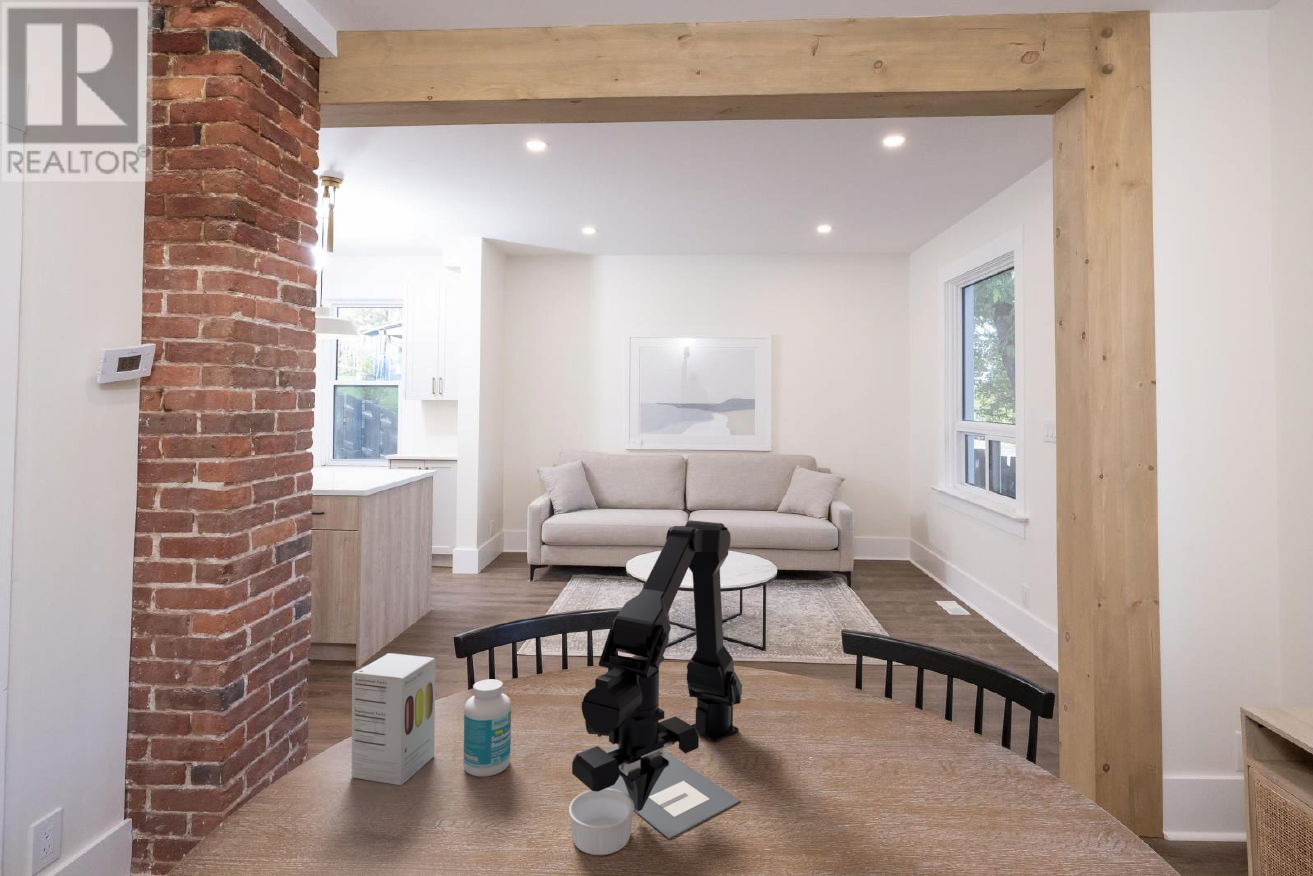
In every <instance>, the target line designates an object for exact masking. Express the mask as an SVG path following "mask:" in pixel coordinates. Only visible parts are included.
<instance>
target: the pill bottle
mask: <svg viewBox="0 0 1313 876" xmlns="http://www.w3.org/2000/svg"><path fill="white" fill-rule="evenodd" d="M503 691H504V683H503V682H502V681H501V680H499V679H493V678H492V679H490V678H489V679H487V678H486V679H481V680H479V681H477V682H475V683H474V684H473V685H472V694H473V695H471V697H469V698H468V699H467V700H466V703H465V704H464V709H463V768H464V770H465V772H466V773H468V774H469V775H471V776H475V777H482V778H484V777H490V776H495V775H497V774H500V773H501V772H503V771H505V770H506V768H508V766H510V762H511V746H512V745H511V743H512V742H511V738H512V737H511V736H512V735H511V732H512V730H511V729H512V728H511V727H512V724H511V723H512V722H511V721H512V716H511V715H512V702H511V699H510V698H509V696H508V695H506V694H505V693H503Z"/></svg>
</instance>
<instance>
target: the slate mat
mask: <svg viewBox="0 0 1313 876" xmlns="http://www.w3.org/2000/svg"><path fill="white" fill-rule="evenodd" d="M616 749H619V748H618V745H616V746H614V747H611V748H609V749H606V750H604V751H605V752H606V753H609V752H611V751H614V750H616ZM663 757H664V758H665V759H667V760H668V761H669V766H667V767H665V769H664V770H663V772H662V773H661V775H660V777H659V778H658V780H657V782H656V784H655V785H654V787H653V789H652V791H651V793H650V795H649V797H648V799H647V801H646V803H645V805H644V807H643V809H642V810H640V811H636V810H635V809H634V813H635V814H637V815H638V816H639V817H641V818H642V819H643V820H644V821H645V822H647V823H648V824H649V825H650V826H652V827H653V828H654V829H655V830H656V831H658V832H659V833H660V834H661V835H663V836H664V837H665V838H667V840H671V839H673V838H675V837H676V836H678V835H680V834H682V833H684V832H686V831H688V830H690V829H691V828H694V827H695V826H698V825H699V824H701V823H703V822H704V821H706V820H709V819H710V818H712V817H714V816H716V815H718V814H721V813H722V812H724V811H726V810H728V809H730V808H731V807H733V806H735V805H737V804H739V803H741V802H742V801H741V800H740V799H739V798H737V797H736V796H734V795H733V794H732V793H730V792H728V791H727V790H726V789H724V788H723V787H721V786H720V785H718V784H716V782H713V781H712V780H710V779H709V778H708V777H706V776H704V775H703V774H701V773H700V772H698V771H696V770H695V769H694V768H693V767H690V766H689V765H687V764H686V763H684V762H683V761H681V760H680V759H678V758H677V757H676V756H674V755H673V754H671V753H670V752H668V751H666V750H665V749H663ZM608 788H610V789H616V790H619V791H622V792H624V793H626V794H627V795H628V796H629V793H628V791H627V788H626V785H625V783H624V780H623V778H622V777H621V776H620V775H619V778H618V780H617V781H616V783H615V785H612V786H610V787H608Z"/></svg>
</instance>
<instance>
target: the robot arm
mask: <svg viewBox="0 0 1313 876" xmlns="http://www.w3.org/2000/svg"><path fill="white" fill-rule="evenodd" d="M731 537H732V536H731V533H730V530H728V527H726V526H725V525H724V523H722V522H711V521H702V520H688V521H687V522H686V523H685V525H674V526H671V527H669V528H668V530H667V533H666V538H665V543H664V544H663V545H664V546H663V547H662V549H661V550H660V553H659V555H658V556H657V559H656V561H655V563H654V565H653V567H652V569H651V571H650V573H649V574H648V577H647V579H646V581H645V583H644V585H643V587H642V588H641V590H640V592H639V594H637V595H636V596H634V597H632V598H631V599H629V600H628V601H626V602H625V603H624V604H623V606H622V607H621V609H620V610H619V612H618V614H617V615H616V616H615V619H614V620H613V621H612V623H611V625H610V627H609V631H608V634H607V637H606V641H605V643H604V646H603V649H602V652H601V654H600V655H601V656H600V657H599V658H600V659H599V661H598V667H601V668H606V669H607V672H606V673H604V674H601V675H599V676H598V677H596V678H595V681H594V686H593V687H592V688H591V689H589V690H588V691H587V692H586V693H585V694H584V696H583V700H582V701H581V713H582V716H583V719H584V725H585V730H586V732H587V734H588V735H594V736H595V735H597V737H598V738H601V737H602V736H603V737H604V736H605V737H608V742H609V743H610V744H612V745H617V746H618V748H619V749H616V750H614V751H611V752H609V753H606V752H605V751H606V750H604V749H603V748H602V747H600V746H598V745H597V746H593V747H591V748H589V749H586V750H584V751H581V752H578V753H576V754H575V756H574V757H573V759H572V762H571V763H572V764H571V766H572V767H571V773H572V775H573V776H574V777H575V778H577V779H578V780H579V781H580V782H581V783H583V784H584V785H585V786H586V787H587V788H588V789H589V790H592V791H597V792H599V791H601V790H603V789H605V788H608V787H610V786H612V785H615V783H616V781H617V780H618V778H619V775H620V776H621V777H622V778H623V780H624V783H625V785H626V788H627V791H628V793H629V796H630V798H631V799H632V800H633V802H634V809H635V810H636V811H640V810H642V809H643V807H644V805H645V803H646V801H647V799H648V797H649V795H650V793H651V791H652V789H653V787H654V785H655V784H656V782H657V780H658V778H659V777H660V775H661V773H662V772H663V770H664V769H665V767H667V766H669V761H668V760H667V759H665V758H664V757H663V750H665V749H666V748H668V747H672V746H674V745H675V744H676V743H678V749H679V750H680V751H681V752H682V753H684V754H688V753H691V752H693V751H694V750H698V749H699V745H700V744H699V741H700V738H699V737H700V735H702V736H703V737H705V738H706V739H708V740H710V741H711V742H714V743H715V742H718V741H721V740H723V739H725V738H728V737H730V736H732V735H734V734H737V733H739V730H740V729H739V727H737V726H735V725H734V724H733V721H734V719H733V717H734V705H739V704H741V701H742V695H743V684H742V682H741V681H740V679H739V677H738V675H737V672H735V666H734V659H733V657H732V655H731V653H730V652H729V651H728V650H727V648H726V647H725V645H724V635H723V634H724V632H723V631H724V630H723V611H722V609H723V608H722V590H721V589H722V587H721V586H722V585H721V572H720V571H721V567H722V566H723V564H724V562H725V561H726V559H727V557H728V556H729V550H730V549H729V548H730V545H731V541H732V539H731ZM688 570H690V571H691V573H692V585H693V586H692V587H693V588H692V589H693V605H694V607H693V608H694V622H695V624H694V625H695V626H694V627H695V645H696V649H695V651H694V653H693V655H692V656H691V658H690V660H689V662H688V663H687V665H686V670H687V671H686V683H687V689H688V694H689V697H690V698H695V699H696V708H695V723H693V724H689V723H688V722H687V721H684V720H683V719H680V718H679V717H677V716H672V717H670V718H669V717H668V718H666V719H665V710H663V709H661V708H660V705H659V704H660V702H659V701H660V700H659V699H660V694H659V693H660V666H661V665H660V664H661V663H662V662H664V661H665V656H664V654H665V652H666V648H667V646H668V643H669V642H670V641H669V640H670V632H671V629H672V626H671V619H670V616H669V613H670V610H671V607H672V605H673V603H674V601H675V598H676V596H677V594H678V592H679V590H680V587H681V585H682V583H683V580H684V578H685V576H686V574H687V571H688ZM616 652H619V653H623V654H624V653H625V654H629V655H633V656H631V657H629V656H625V655H624V656H623V655H620V654H616ZM663 719H665V720H663ZM661 720H662V721H661Z"/></svg>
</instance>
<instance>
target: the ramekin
mask: <svg viewBox="0 0 1313 876" xmlns="http://www.w3.org/2000/svg"><path fill="white" fill-rule="evenodd" d="M634 813H635V811H634V802H633V800H632V799H631V798H630V796H628V795H627V794H626V793H624V792H622V791H619V790H616V789H610V788H605V789H603V790H601V791H599V792H597V791H592V790H591V789H589V790H586V791H583V792H581V793H580V794H578V795H576V796H575V797H574V798H573V799H572V800H571V802H570V804H569V807H568V816H569V818H570V827H571V837H572V841H573V844H574V845H575V846H576V848H578V850H580V851H581V852H582V853H586V854H589V855H593V856H606V855H607V856H608V855H610V854H613V853H616V852H617V851H620V850H622V849H623V848H624V847H625V846H626V845H627V844H628V843H629V839H630V837H631V833H632V829H633V828H632V825H633V816H634Z"/></svg>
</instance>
